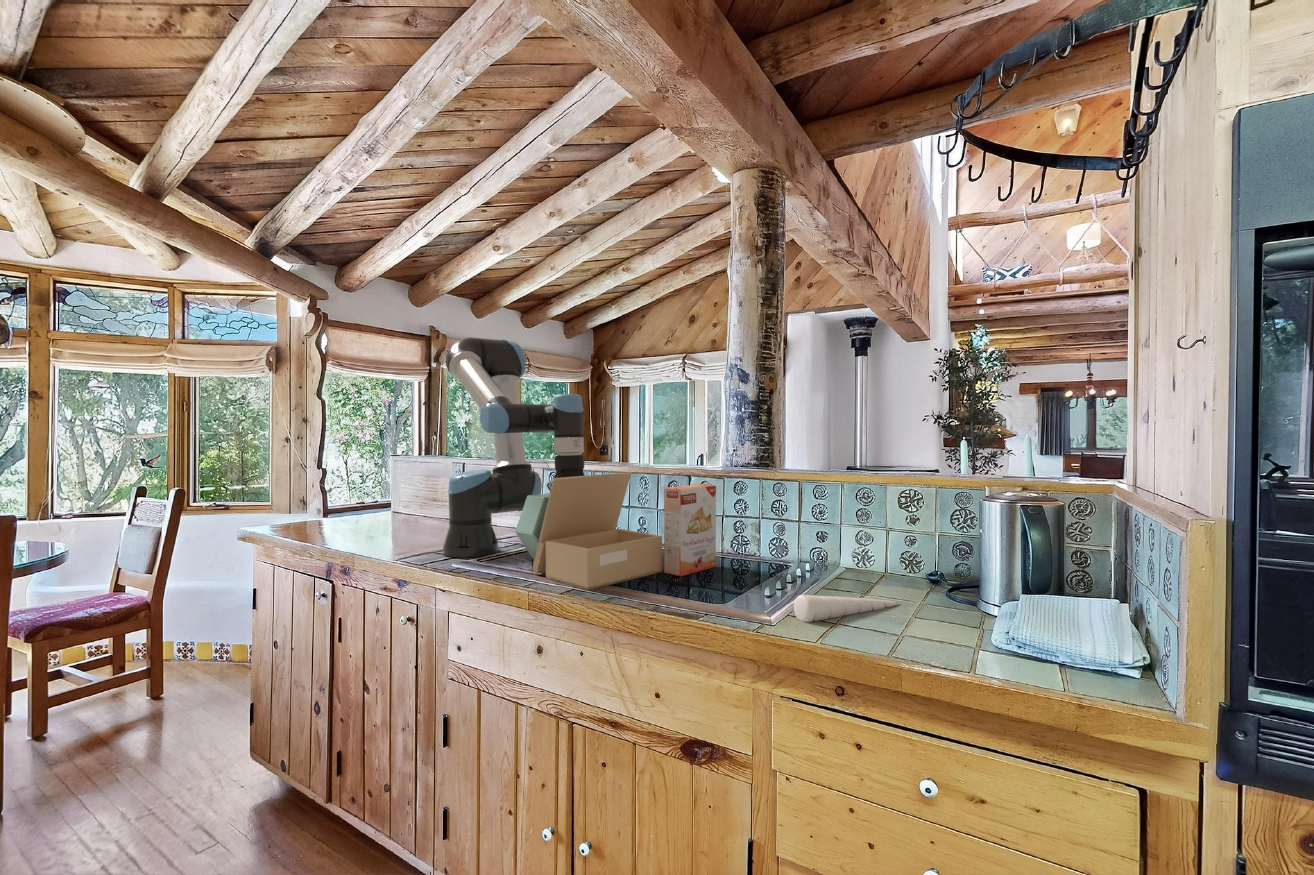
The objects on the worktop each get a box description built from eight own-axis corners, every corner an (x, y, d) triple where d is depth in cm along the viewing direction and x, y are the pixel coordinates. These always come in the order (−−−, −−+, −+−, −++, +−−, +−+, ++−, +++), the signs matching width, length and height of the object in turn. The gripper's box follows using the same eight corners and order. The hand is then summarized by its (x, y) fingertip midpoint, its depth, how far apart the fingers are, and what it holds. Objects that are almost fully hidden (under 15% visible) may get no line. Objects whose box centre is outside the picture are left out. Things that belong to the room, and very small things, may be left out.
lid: (536, 573, 144) (531, 569, 146) (611, 558, 161) (606, 554, 162) (558, 482, 137) (553, 478, 139) (634, 475, 154) (629, 472, 155)
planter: (558, 577, 160) (521, 518, 152) (541, 573, 166) (504, 515, 157) (598, 535, 171) (565, 478, 162) (580, 532, 176) (548, 476, 167)
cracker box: (682, 577, 141) (681, 488, 141) (662, 573, 145) (662, 487, 145) (717, 567, 151) (717, 484, 151) (699, 563, 155) (698, 483, 155)
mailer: (546, 577, 142) (545, 540, 142) (619, 562, 158) (619, 528, 158) (587, 590, 131) (587, 550, 130) (662, 571, 147) (662, 536, 147)
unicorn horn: (913, 611, 115) (913, 586, 115) (806, 626, 107) (806, 599, 107) (895, 604, 119) (895, 580, 119) (792, 618, 111) (791, 592, 111)
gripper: (556, 455, 147) (559, 551, 147) (598, 453, 156) (600, 544, 156) (539, 455, 152) (541, 548, 152) (580, 453, 161) (583, 541, 161)
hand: (571, 546), depth 154 cm, fingers closed
